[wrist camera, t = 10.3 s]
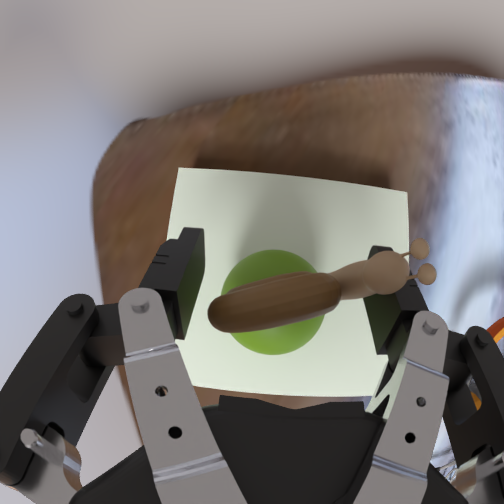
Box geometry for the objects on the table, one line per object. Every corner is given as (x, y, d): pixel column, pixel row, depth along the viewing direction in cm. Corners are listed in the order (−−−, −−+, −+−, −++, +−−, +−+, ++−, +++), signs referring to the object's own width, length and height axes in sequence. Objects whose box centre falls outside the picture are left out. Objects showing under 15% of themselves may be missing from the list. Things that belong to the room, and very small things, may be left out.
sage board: (390, 205, 22) (407, 192, 19) (379, 384, 20) (395, 394, 17) (188, 183, 23) (179, 167, 20) (166, 369, 20) (153, 378, 17)
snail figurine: (339, 328, 18) (458, 358, 6) (238, 356, 18) (209, 443, 6) (316, 244, 19) (401, 156, 7) (216, 270, 19) (149, 214, 7)
